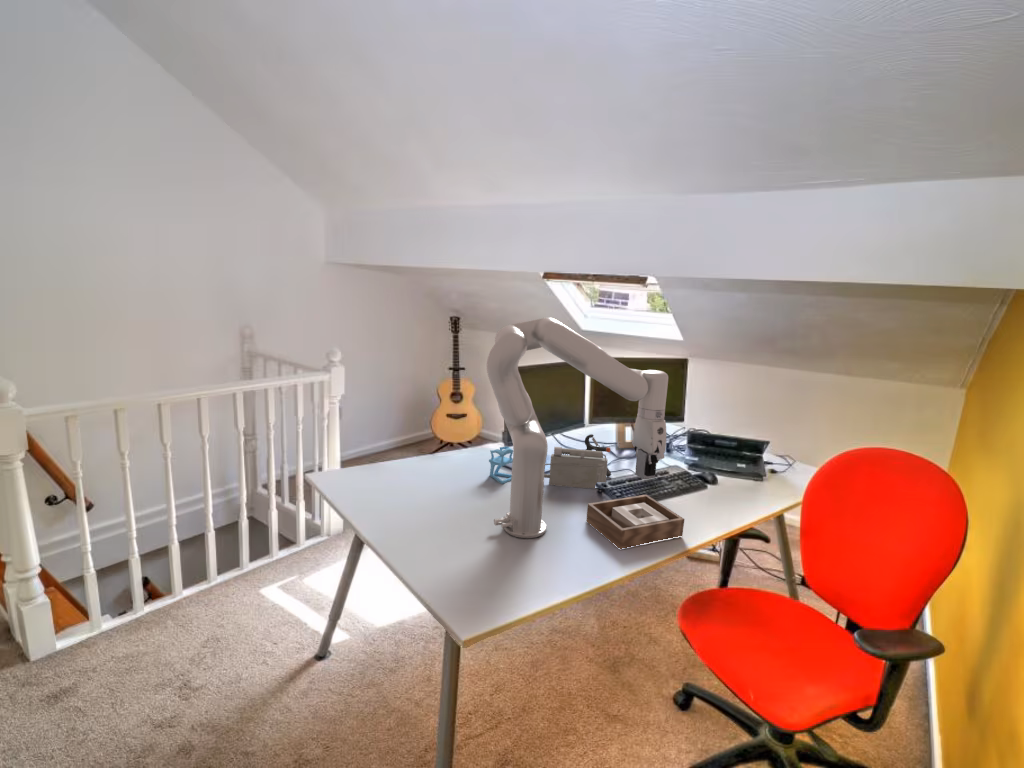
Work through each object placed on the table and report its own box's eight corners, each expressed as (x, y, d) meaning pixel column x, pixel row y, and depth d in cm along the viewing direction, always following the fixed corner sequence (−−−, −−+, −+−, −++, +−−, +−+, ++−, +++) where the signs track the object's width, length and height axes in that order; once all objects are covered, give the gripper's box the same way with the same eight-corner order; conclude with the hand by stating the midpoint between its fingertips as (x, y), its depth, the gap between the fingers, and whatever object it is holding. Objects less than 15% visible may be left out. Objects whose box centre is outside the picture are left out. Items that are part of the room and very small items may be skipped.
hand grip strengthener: (609, 478, 204) (613, 440, 201) (578, 470, 211) (581, 433, 207) (611, 476, 206) (615, 438, 203) (581, 469, 212) (584, 432, 209)
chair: (498, 472, 206) (500, 441, 203) (516, 478, 200) (517, 447, 198) (485, 477, 200) (486, 446, 197) (502, 484, 195) (503, 452, 192)
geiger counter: (607, 448, 195) (537, 443, 197) (609, 454, 189) (536, 448, 191) (604, 485, 198) (535, 479, 200) (605, 492, 192) (534, 486, 194)
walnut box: (619, 550, 153) (621, 530, 152) (586, 521, 169) (587, 503, 168) (682, 537, 162) (684, 519, 161) (644, 511, 178) (646, 494, 177)
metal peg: (643, 479, 160) (646, 453, 158) (635, 474, 164) (637, 448, 162) (654, 477, 162) (657, 452, 160) (646, 472, 165) (648, 447, 164)
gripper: (680, 420, 153) (674, 481, 157) (643, 404, 167) (638, 461, 172) (659, 422, 150) (652, 485, 154) (623, 406, 164) (618, 464, 169)
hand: (645, 472), depth 163 cm, fingers closed on metal peg, 4 cm apart
